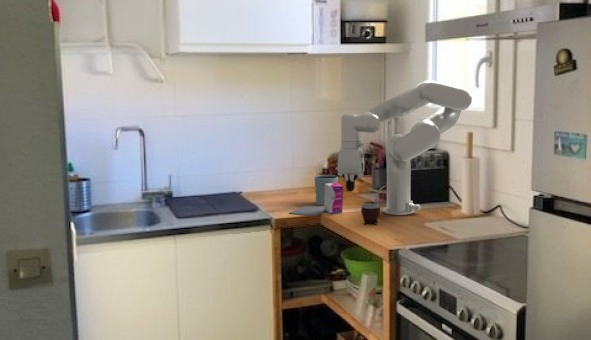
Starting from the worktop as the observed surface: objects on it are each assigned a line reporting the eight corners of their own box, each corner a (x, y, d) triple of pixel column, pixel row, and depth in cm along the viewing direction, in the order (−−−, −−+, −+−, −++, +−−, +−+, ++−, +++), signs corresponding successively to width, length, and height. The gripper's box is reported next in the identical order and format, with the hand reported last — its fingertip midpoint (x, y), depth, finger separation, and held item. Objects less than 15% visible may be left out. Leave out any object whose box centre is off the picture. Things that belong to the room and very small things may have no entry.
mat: (331, 208, 272) (331, 207, 272) (315, 216, 259) (315, 215, 259) (305, 206, 278) (305, 205, 278) (288, 213, 265) (288, 212, 265)
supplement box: (330, 214, 262) (330, 186, 259) (323, 210, 267) (324, 183, 265) (342, 212, 264) (343, 185, 262) (336, 208, 270) (337, 182, 267)
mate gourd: (357, 223, 247) (357, 184, 244) (374, 220, 251) (374, 182, 248) (369, 227, 240) (369, 187, 238) (386, 224, 244) (386, 184, 242)
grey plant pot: (310, 203, 283) (309, 176, 282) (328, 200, 289) (327, 173, 287) (324, 207, 275) (324, 179, 273) (342, 203, 281) (342, 176, 279)
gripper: (371, 145, 258) (371, 190, 260) (337, 143, 264) (337, 187, 267) (364, 147, 251) (364, 193, 254) (329, 145, 258) (329, 190, 261)
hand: (350, 190), depth 261 cm, fingers closed
